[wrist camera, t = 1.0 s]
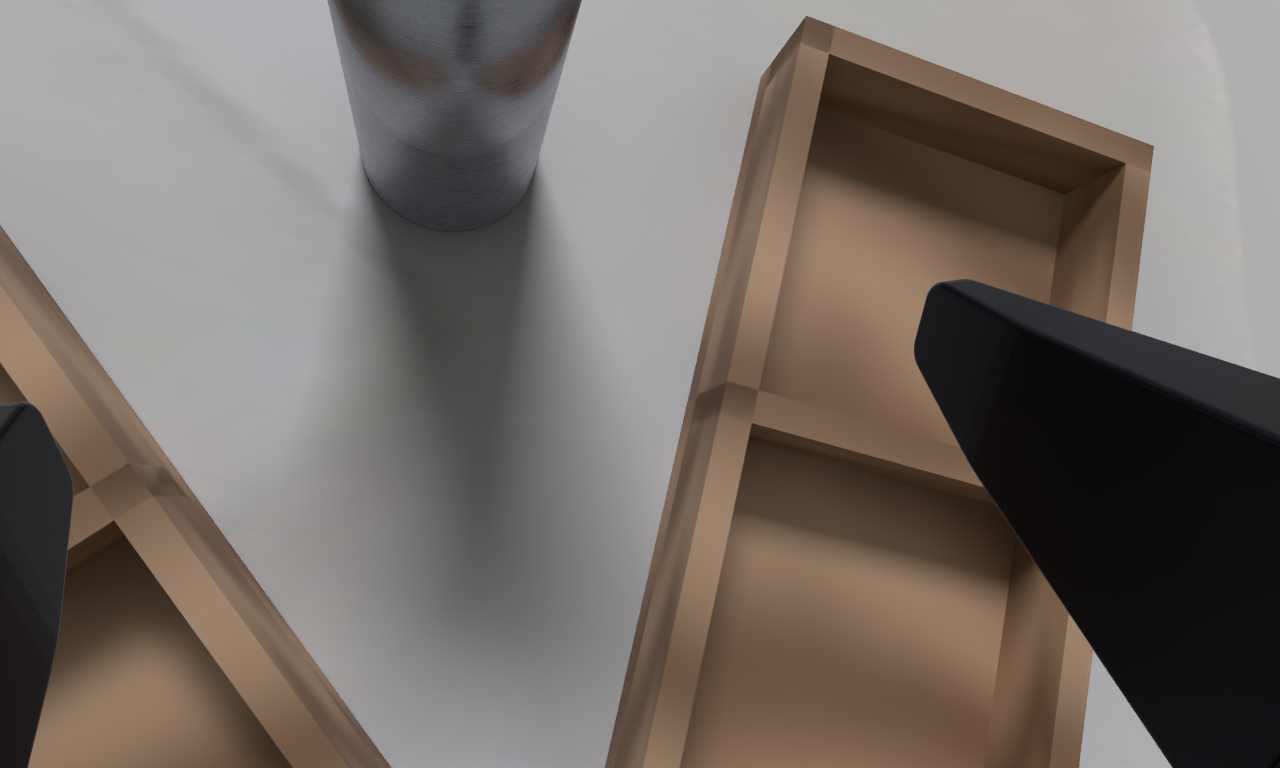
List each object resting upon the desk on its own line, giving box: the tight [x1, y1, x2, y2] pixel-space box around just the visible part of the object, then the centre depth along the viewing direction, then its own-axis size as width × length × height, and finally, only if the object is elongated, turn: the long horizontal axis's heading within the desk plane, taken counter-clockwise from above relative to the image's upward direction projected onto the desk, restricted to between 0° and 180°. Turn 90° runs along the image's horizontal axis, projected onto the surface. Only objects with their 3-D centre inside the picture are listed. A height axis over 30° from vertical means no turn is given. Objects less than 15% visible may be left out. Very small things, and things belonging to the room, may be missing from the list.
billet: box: [328, 0, 582, 232], centre depth 17 cm, size 4×4×12 cm
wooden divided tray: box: [605, 16, 1154, 768], centre depth 22 cm, size 20×11×3 cm, turn 167°
